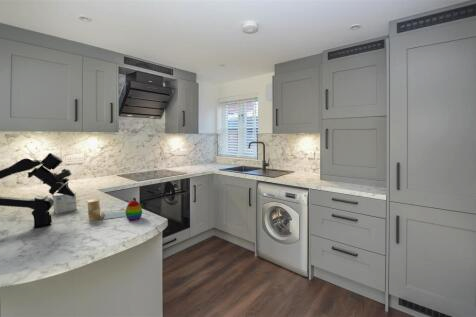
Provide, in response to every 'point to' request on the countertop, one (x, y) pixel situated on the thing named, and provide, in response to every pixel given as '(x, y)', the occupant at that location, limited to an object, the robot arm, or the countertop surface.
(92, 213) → the oak block
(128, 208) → the decorative egg
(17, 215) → the countertop surface
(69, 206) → the light bulb box
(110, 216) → the slate mat
